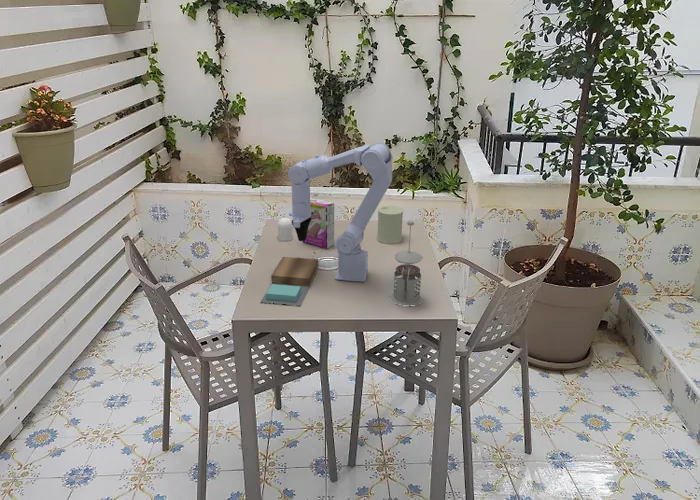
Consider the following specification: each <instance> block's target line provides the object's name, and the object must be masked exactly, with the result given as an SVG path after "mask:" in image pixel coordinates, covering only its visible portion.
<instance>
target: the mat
mask: <svg viewBox="0 0 700 500" xmlns="http://www.w3.org/2000/svg"><path fill="white" fill-rule="evenodd" d="M272 284H275V283H272V282H271V284H270V285H269V287H268V288H267V290H266V292H265V294H264V295H263V297H262V298H261V300H260V302H262V303H261V304H267V303H274V304H273V305H278V304H286V305H285V306H290V305H296V306H295V307H301V305H302V303H303V302H304V299H305V298H306V295H307V293H308V291H309V289H310V287H309V286H300V287H301V293H300V295H299V297H298V299H297V301H296V302H290V301H278V300H267V299H266V293H267V291H268V290H269V288H270V286H271V285H272ZM277 285H287V284H277ZM288 286H299V285H288Z"/></svg>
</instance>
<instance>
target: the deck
mask: <svg viewBox="0 0 700 500" xmlns="http://www.w3.org/2000/svg"><path fill="white" fill-rule="evenodd" d="M319 265H320V264H319V259H318V258H305V257H292V256H291V257H290V256H282V258H281V259H280V261H279V262H278V264H277V266H276V267H275V269H274V270H273V272H272V273H271V275H270V276H271V277H270V278H271V284H272V283H275V284H287V285H299V286H309V288H310V287H311V284H312V282H313V280H314V278H315V276H316V274H317V271H318V269H319V268H318V267H320V266H319Z"/></svg>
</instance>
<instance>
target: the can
mask: <svg viewBox="0 0 700 500" xmlns="http://www.w3.org/2000/svg"><path fill="white" fill-rule="evenodd" d="M377 213H378V214H377V235H376V240H377V241H378V242H380V243H381V244H387V245H393V244H399V243H400V242H401V241H402V240H403V239H402V238H403V237H402V234H403V218H404V216H403V215H404V209H403V208H402V207H401V206H396V205H383V206H380V207H379V208H378V209H377Z"/></svg>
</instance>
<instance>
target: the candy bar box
mask: <svg viewBox="0 0 700 500" xmlns="http://www.w3.org/2000/svg"><path fill="white" fill-rule="evenodd" d="M310 210H311V218H312V220H311V222H310V224H309V227H308V231H307V237H306V240H305V241H302V243H305V244H309V245H312V246H314V247H315V246H316V247H319V248H322V249H330V248H331V247H333V246H334V245H335V203H334V202H332V201H327V200H322V199H320V198H315V197H311V196H310Z"/></svg>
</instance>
